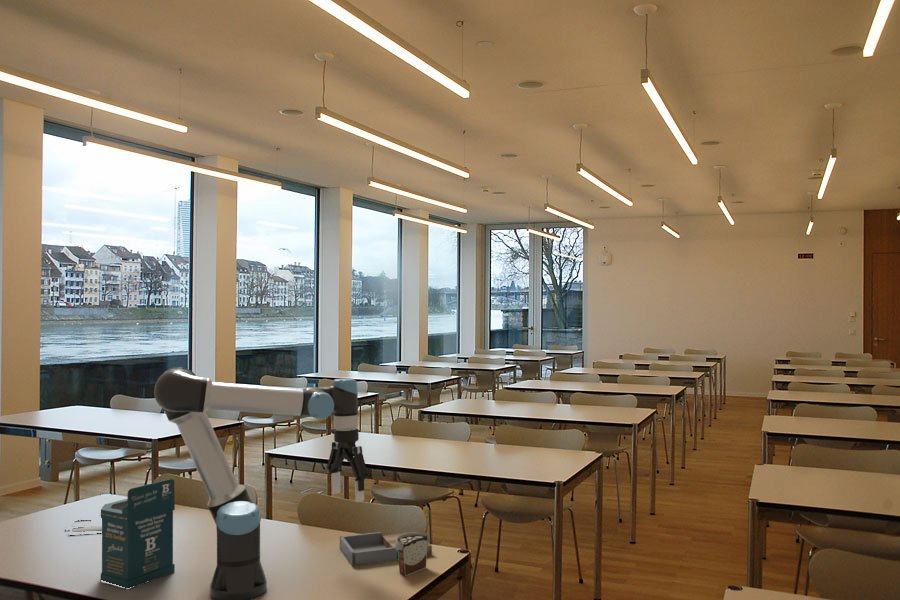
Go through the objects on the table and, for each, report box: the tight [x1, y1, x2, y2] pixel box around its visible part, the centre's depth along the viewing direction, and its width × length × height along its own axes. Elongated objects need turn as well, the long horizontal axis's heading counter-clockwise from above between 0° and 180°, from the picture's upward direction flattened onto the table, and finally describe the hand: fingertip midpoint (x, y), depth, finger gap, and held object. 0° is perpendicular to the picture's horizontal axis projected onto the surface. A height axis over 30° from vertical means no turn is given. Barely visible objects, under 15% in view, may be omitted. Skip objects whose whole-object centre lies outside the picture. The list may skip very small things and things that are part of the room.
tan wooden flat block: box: [382, 531, 433, 561], centre depth 238 cm, size 16×12×3 cm
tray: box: [339, 531, 398, 567], centre depth 233 cm, size 18×14×4 cm
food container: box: [395, 532, 430, 577], centre depth 219 cm, size 12×6×10 cm, turn 141°
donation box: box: [100, 478, 176, 588], centre depth 216 cm, size 16×16×28 cm
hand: (347, 497), depth 226 cm, fingers open, 13 cm apart
